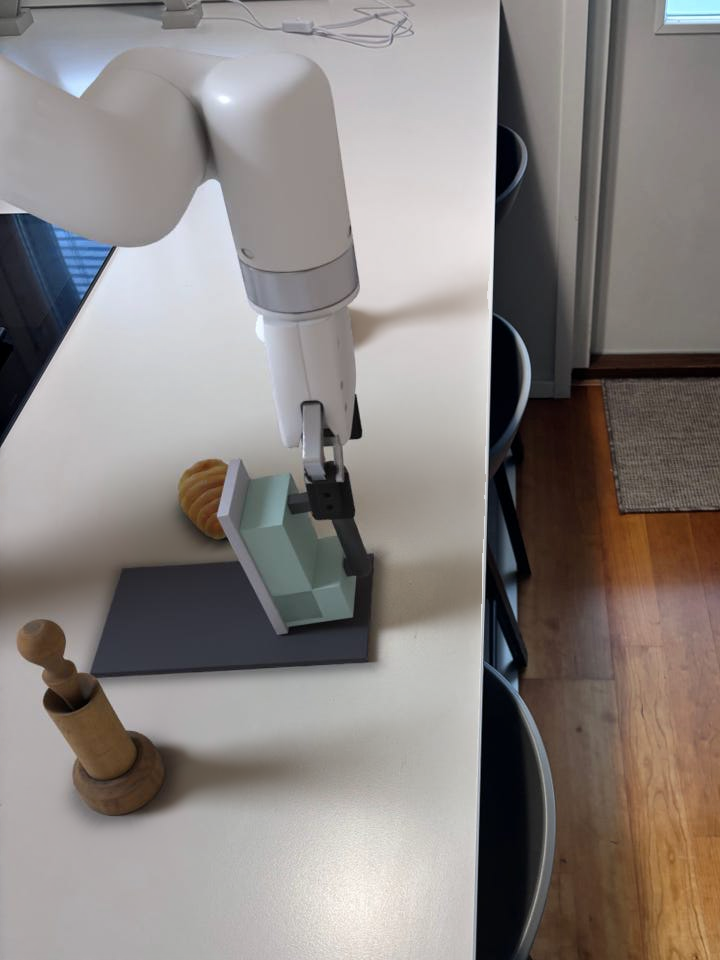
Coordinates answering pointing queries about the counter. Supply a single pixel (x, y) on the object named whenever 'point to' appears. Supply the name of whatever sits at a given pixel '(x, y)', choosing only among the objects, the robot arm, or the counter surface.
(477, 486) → the counter surface
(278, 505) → the iron
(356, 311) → the counter surface
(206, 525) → the pastry
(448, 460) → the counter surface
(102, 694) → the mortar and pestle
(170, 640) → the iron mat
